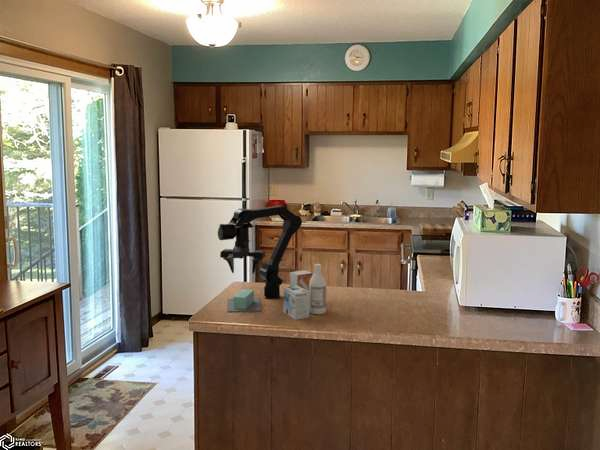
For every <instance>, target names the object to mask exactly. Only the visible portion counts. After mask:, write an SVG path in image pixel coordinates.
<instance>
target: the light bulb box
mask: <svg viewBox="0 0 600 450" xmlns="http://www.w3.org/2000/svg"><path fill="white" fill-rule="evenodd" d="M309 298H310V291H307V290H305V289H303V288H301V287H299V286H291V287H290V286H286V287H283V314H286V315H287V316H288V317H290V318H291V319H292V320H295V321H296V320H303V319H307V318H310V312H309Z"/></svg>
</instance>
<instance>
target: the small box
mask: <svg viewBox="0 0 600 450" xmlns="http://www.w3.org/2000/svg"><path fill="white" fill-rule="evenodd" d="M312 276H313V272H311V271H308V270H305V269H304V270H295V271H290V272H289V287H291V286H299V287H301V288H303V289H305V290H307V291H309V282H310V279H311V277H312Z"/></svg>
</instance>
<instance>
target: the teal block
mask: <svg viewBox="0 0 600 450" xmlns="http://www.w3.org/2000/svg"><path fill="white" fill-rule="evenodd" d="M254 293H255V290H254V289H246V288H245V289H241V290H240V291H239V292H238V293H237V294H234V296H233V299H234V309H246V308H247V307H248V306H249V305H250V304H251V303H253V302H254V298H255V295H254Z"/></svg>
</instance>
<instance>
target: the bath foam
mask: <svg viewBox="0 0 600 450" xmlns="http://www.w3.org/2000/svg"><path fill="white" fill-rule="evenodd" d="M313 269H314V272H313V273H312V277H311V279H310V282H309V291H310V298H309V314H313V315H323V314H325V313H326V311H327V281H326V279H325V277H324V275H323V274H322V264H321V263H315V264H314V266H313Z"/></svg>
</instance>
